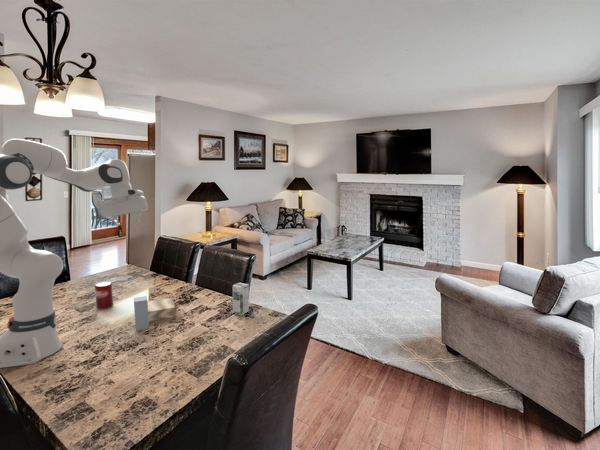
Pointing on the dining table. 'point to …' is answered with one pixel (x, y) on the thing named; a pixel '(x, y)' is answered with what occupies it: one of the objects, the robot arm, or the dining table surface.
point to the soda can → (104, 295)
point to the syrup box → (240, 298)
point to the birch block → (161, 309)
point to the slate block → (141, 313)
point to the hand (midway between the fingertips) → (127, 223)
